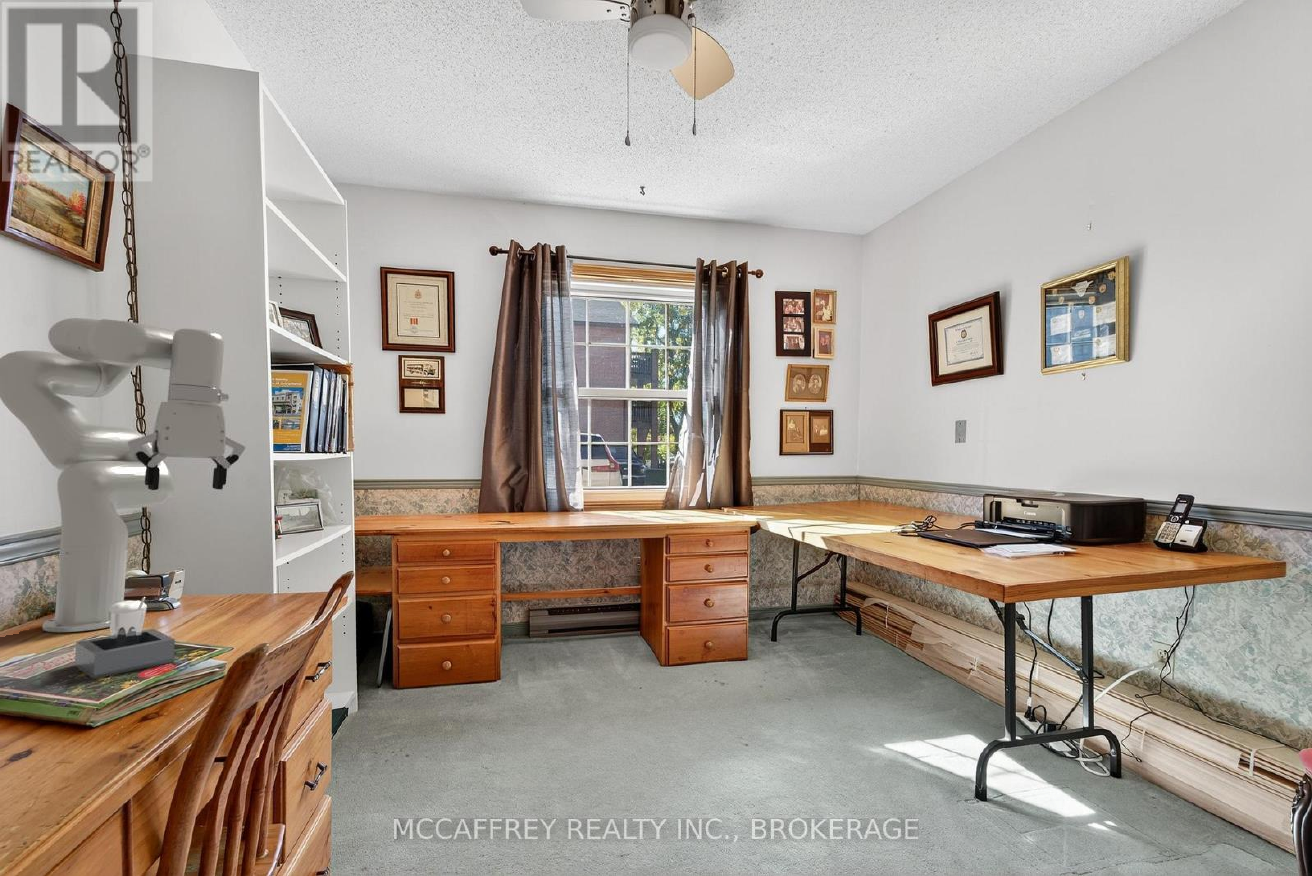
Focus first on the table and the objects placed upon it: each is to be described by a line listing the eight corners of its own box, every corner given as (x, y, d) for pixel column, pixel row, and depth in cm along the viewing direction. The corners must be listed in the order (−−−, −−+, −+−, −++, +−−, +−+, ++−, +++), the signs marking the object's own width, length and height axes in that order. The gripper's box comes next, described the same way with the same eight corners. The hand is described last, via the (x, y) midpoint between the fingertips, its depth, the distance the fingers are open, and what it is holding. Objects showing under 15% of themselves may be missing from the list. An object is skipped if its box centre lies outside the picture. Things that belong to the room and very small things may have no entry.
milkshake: (124, 665, 91) (129, 600, 91) (97, 661, 92) (102, 597, 92) (154, 656, 95) (159, 594, 96) (128, 653, 96) (133, 591, 97)
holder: (74, 665, 92) (76, 642, 92) (151, 650, 100) (153, 628, 100) (93, 679, 87) (95, 654, 87) (173, 661, 95) (174, 639, 95)
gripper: (240, 402, 117) (233, 487, 117) (127, 391, 103) (118, 488, 103) (255, 402, 113) (248, 490, 112) (139, 390, 99) (130, 491, 98)
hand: (186, 489), depth 108 cm, fingers open, 9 cm apart
